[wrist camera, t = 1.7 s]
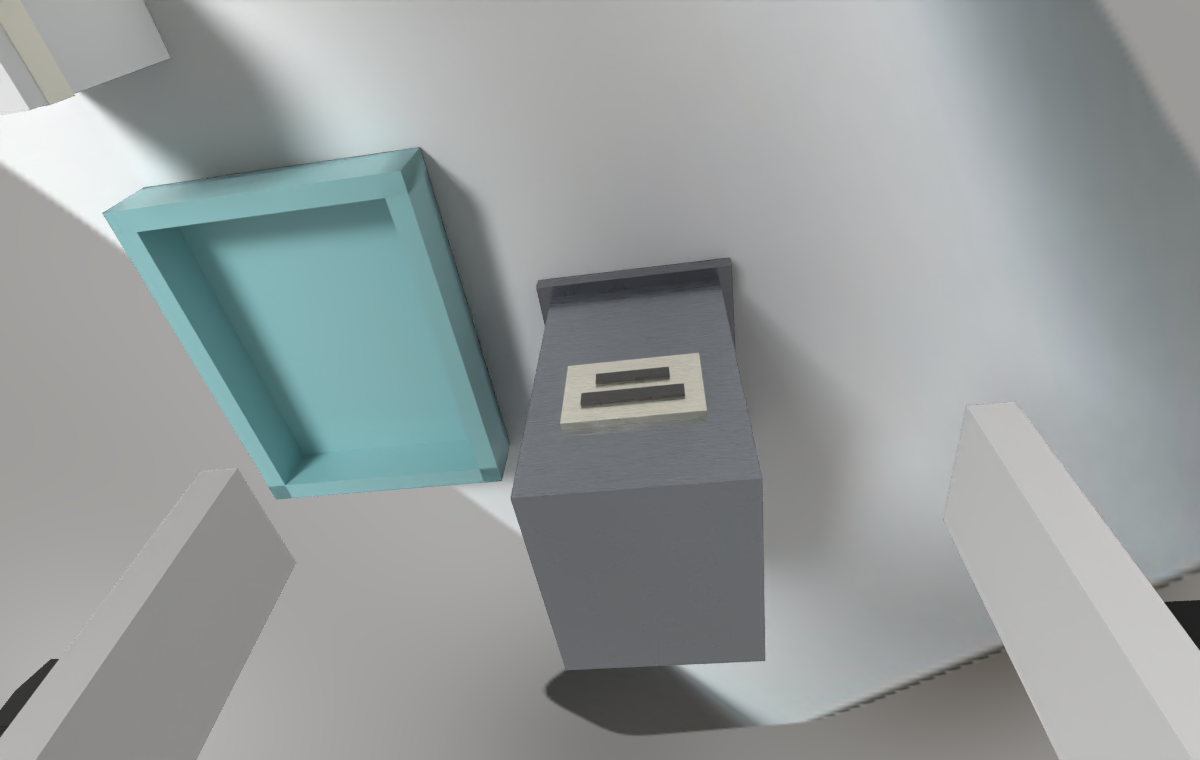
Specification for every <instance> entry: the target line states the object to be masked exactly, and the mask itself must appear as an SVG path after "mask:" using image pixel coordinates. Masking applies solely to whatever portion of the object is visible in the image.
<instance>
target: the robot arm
mask: <svg viewBox="0 0 1200 760" xmlns="http://www.w3.org/2000/svg"><path fill="white" fill-rule="evenodd" d="M943 521H944V523H945V525H946V527H947V529H948V531H949V533H950V535H951V537H952V540H953V542H954V544H955V546H956V548H957V550H958V552H959V554H960V556H961V558H962V560H963V562H964V564H965V566H966V568H967V570H968V573H969V575H970V577H971V579H972V581H973V583H974V585H975V587H976V589H977V591H978V593H979V595H980V597H981V599H982V601H983V603H984V605H985V608H986V610H987V612H988V614H989V616H990V618H991V620H992V622H993V624H994V626H995V628H996V630H997V632H998V634H999V636H1000V638H1001V640H1002V643H1003V645H1004V647H1005V649H1006V651H1007V653H1008V655H1009V657H1010V659H1011V661H1012V663H1013V665H1014V667H1015V669H1016V671H1017V673H1018V676H1019V678H1020V680H1021V682H1022V684H1023V686H1024V688H1025V690H1026V692H1027V694H1028V696H1029V698H1030V700H1031V702H1032V704H1033V706H1034V708H1035V711H1036V712H1037V715H1038V717H1039V719H1040V721H1041V723H1042V725H1043V727H1044V729H1045V731H1046V733H1047V735H1048V737H1049V739H1050V741H1051V744H1052V745H1053V748H1054V750H1055V752H1056V754H1057V756H1058V758H1059V760H1200V600H1196V601H1195V600H1194V601H1174V602H1163V600H1162V599H1161V598H1160V596H1159V595H1158V594H1157V592H1156V591H1155V590H1154V588H1153V587H1152V585H1151V584H1150V583H1149V581H1148V580H1147V579H1146V577H1145V576H1144V575H1143V573H1142V572H1141V571H1140V569H1139V568H1138V567H1137V565H1136V564H1135V562H1134V561H1133V560H1132V558H1131V557H1130V556H1129V554H1128V553H1127V552H1126V550H1125V549H1124V548H1123V546H1122V545H1121V544H1120V542H1119V541H1118V539H1117V538H1116V537H1115V535H1114V534H1113V533H1112V531H1111V530H1110V529H1109V527H1108V526H1107V525H1106V523H1105V522H1104V521H1103V519H1102V518H1101V516H1100V515H1099V514H1098V512H1097V511H1096V510H1095V508H1094V507H1093V506H1092V504H1091V503H1090V502H1089V500H1088V499H1087V498H1086V496H1085V495H1084V493H1083V492H1082V491H1081V489H1080V488H1079V487H1078V485H1077V484H1076V483H1075V481H1074V480H1073V479H1072V477H1071V476H1070V475H1069V473H1068V472H1067V470H1066V469H1065V468H1064V466H1063V465H1062V464H1061V462H1060V461H1059V460H1058V458H1057V457H1056V456H1055V454H1054V453H1053V452H1052V450H1051V449H1050V448H1049V446H1048V445H1047V443H1046V442H1045V441H1044V439H1043V438H1042V437H1041V435H1040V434H1039V433H1038V431H1037V430H1036V429H1035V427H1034V426H1033V425H1032V423H1031V422H1030V420H1029V419H1028V418H1027V416H1026V415H1025V414H1024V412H1023V411H1022V410H1021V408H1020V407H1019V406H1018V404H1017V403H1016V402H1003V403H992V404H980V405H968V406H966V410H965V415H964V420H963V425H962V429H961V434H960V439H959V444H958V449H957V454H956V459H955V463H954V468H953V473H952V478H951V483H950V488H949V492H948V497H947V502H946V507H945V512H944V517H943ZM295 564H296V561H295V559H294V558H293V556H292V555H291V553H290V551H289V550H288V548H287V547H286V545H285V543H284V542H283V540H282V539H281V537H280V535H279V534H278V532H277V531H276V529H275V527H274V526H273V524H272V523H271V521H270V520H269V518H268V516H267V515H266V513H265V511H264V510H263V508H262V507H261V505H260V504H259V502H258V500H257V498H256V497H255V495H254V494H253V492H252V491H251V489H250V487H249V486H248V484H247V482H246V481H245V479H244V478H243V476H242V474H241V473H240V471H239V470H238V468H230V469H219V470H207V471H200V472H199V474H198V475H197V476H196V478H195V479H194V480H193V482H192V483H191V485H190V486H189V487H188V488H187V490H186V491H185V492H184V494H183V495H182V496H181V498H180V499H179V500H178V502H177V503H176V504H175V506H174V507H173V508H172V510H171V511H170V512H169V514H168V515H167V516H166V518H165V519H164V520H163V522H162V523H161V524H160V526H159V527H158V528H157V530H156V531H155V532H154V534H153V535H152V536H151V538H150V539H149V540H148V542H147V543H146V544H145V546H144V547H143V548H142V550H141V551H140V552H139V554H138V555H137V556H136V558H135V559H134V560H133V562H132V563H131V564H130V566H129V567H128V568H127V570H126V571H125V572H124V574H123V575H122V576H121V578H120V579H119V580H118V582H117V583H116V584H115V586H114V587H113V588H112V590H111V591H110V592H109V593H108V595H107V596H106V597H105V599H104V600H103V602H102V603H101V604H100V606H99V607H98V608H97V609H96V611H95V612H94V614H93V615H92V616H91V617H90V619H89V620H88V621H87V623H86V624H85V625H84V627H83V628H82V629H81V631H80V632H79V633H78V635H77V636H76V638H75V639H74V640H73V641H72V643H71V644H70V646H69V647H68V648H67V649H66V651H65V652H64V654H63V655H62V656H61V657H60V659H51V660H49V661H48V662H47V663H46V664H45V665H44V666H43V667H42V668H40V669H39V670H38V671H37V672H36V673H35V674H34V675H33V676H32V677H30V678H29V679H28V680H27V681H26V682H25V683H24V684H22V685H21V686H20V687H19V688H18V689H17V690H16V691H15V692H14V693H13V694H12V696H11V697H10V698H9V700H8V701H7V702H6V703H5V705H4V706H3V707H2V709H1V710H0V760H196V759H197V758H198V756H199V754H200V751H201V750H202V748H203V746H204V744H205V742H206V740H207V738H208V736H209V734H210V732H211V730H212V728H213V726H214V724H215V722H216V720H217V718H218V716H219V714H220V712H221V710H222V708H223V706H224V704H225V702H226V700H227V698H228V696H229V694H230V692H231V690H232V688H233V686H234V684H235V682H236V680H237V679H238V677H239V674H240V672H241V671H242V669H243V667H244V665H245V663H246V661H247V659H248V657H249V655H250V653H251V651H252V649H253V647H254V645H255V643H256V641H257V639H258V637H259V635H260V633H261V631H262V629H263V627H264V625H265V623H266V621H267V619H268V617H269V615H270V613H271V611H272V609H273V608H274V605H275V603H276V601H277V600H278V597H279V596H280V594H281V592H282V590H283V588H284V586H285V584H286V582H287V580H288V578H289V576H290V574H291V572H292V570H293V568H294V566H295Z"/></svg>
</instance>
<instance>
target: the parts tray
mask: <svg viewBox="0 0 1200 760" xmlns="http://www.w3.org/2000/svg"><path fill="white" fill-rule="evenodd" d="M102 214H103V215H104V217H105V218H106V220H107V222H108V223H109V225H110V227H111V228H112V230H113V232H114V233H115V235H116V237H117V238H118V240H119V242H120V243H121V245H122V246H123V248H124V250H125V251H126V253H127V255H128V256H129V258H130V260H131V261H132V263H133V265H134V266H135V268H136V269H137V271H138V273H139V274H140V276H141V278H142V279H143V281H144V283H145V284H146V286H147V288H148V289H149V291H150V292H151V294H152V296H153V297H154V299H155V301H156V302H157V304H158V306H159V307H160V309H161V311H162V312H163V314H164V316H165V317H166V319H167V320H168V322H169V324H170V325H171V327H172V329H173V330H174V332H175V333H176V335H177V337H178V339H179V340H180V342H181V344H182V345H183V347H184V348H185V350H186V351H187V353H188V355H189V357H190V358H191V360H192V362H193V363H194V365H195V367H196V368H197V370H198V372H199V373H200V375H201V376H202V378H203V379H204V381H205V383H206V384H207V386H208V388H209V390H210V391H211V393H212V394H213V396H214V398H215V399H216V401H217V402H218V404H219V406H220V408H221V409H222V411H223V413H224V414H225V416H226V418H227V419H228V421H229V422H230V424H231V426H232V427H233V429H234V431H235V432H236V434H237V436H238V437H239V439H240V441H241V442H242V444H243V446H244V447H245V449H246V450H247V452H248V454H249V455H250V457H251V459H252V460H253V462H254V464H255V465H256V467H257V468H258V470H259V472H260V474H261V475H262V477H263V478H264V480H265V482H266V483H267V485H268V487H269V488H270V490H271V492H272V493H273V495H274V497H275V498H276V499H287V498H299V497H311V496H323V495H335V494H348V493H360V492H372V491H383V490H397V489H409V488H421V487H433V486H445V485H458V484H470V483H482V482H494V481H502V478H503V473H504V469H505V464H506V460H507V455H508V451H509V446H510V443H509V439H508V436H507V433H506V429H505V426H504V423H503V420H502V416H501V413H500V410H499V406H498V403H497V400H496V396H495V393H494V390H493V387H492V383H491V380H490V377H489V373H488V370H487V367H486V364H485V360H484V357H483V354H482V350H481V347H480V344H479V340H478V337H477V334H476V331H475V327H474V324H473V321H472V317H471V314H470V311H469V308H468V304H467V301H466V298H465V294H464V291H463V288H462V284H461V281H460V278H459V275H458V271H457V268H456V265H455V261H454V258H453V255H452V252H451V248H450V245H449V242H448V238H447V235H446V232H445V228H444V225H443V222H442V219H441V215H440V212H439V209H438V205H437V202H436V199H435V196H434V192H433V189H432V186H431V182H430V179H429V176H428V172H427V169H426V166H425V163H424V159H423V156H422V153H421V149H420V147H418V148H411V149H404V150H397V151H391V152H384V153H377V154H370V155H363V156H356V157H350V158H343V159H336V160H329V161H322V162H315V163H308V164H302V165H295V166H288V167H281V168H274V169H267V170H261V171H254V172H247V173H240V174H233V175H226V176H219V177H213V178H206V179H199V180H192V181H185V182H178V183H172V184H165V185H158V186H151V187H144V188H142V189H141V190H139V191H137V192H136V193H134V194H133V195H131V196H129V197H128V198H126V199H124V200H123V201H121V202H119V203H118V204H116V205H115V206H113V207H111V208H110V209H108V210H106V211H105V212H103V213H102Z"/></svg>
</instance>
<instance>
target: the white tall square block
mask: <svg viewBox="0 0 1200 760" xmlns="http://www.w3.org/2000/svg"><path fill="white" fill-rule="evenodd" d="M169 58H171V57H170V55H169V53H168V51H167V49H166V47H165V45H164V42H163V40H162V38H161V36H160V34H159V32H158V30H157V28H156V26H155V24H154V22H153V19H152V17H151V15H150V13H149V11H148V9H147V7H146V5H145V3H144V1H143V0H0V115H4V114H10V113H16V112H22V111H28V110H32V109H35V108H37V107H41V106H47V105H51V104H54V103H57V102H59V101H62V100H65V99H67V98H70V97H73V96H75V95H74V94H75V93H78V92H80V91H83V90H86V89H88V88H91V87H94V86H97V85H99V84H102V83H105V82H107V81H110V80H113V79H115V78H118V77H121V76H123V75H126V74H129V73H132V72H134V71H137V70H140V69H142V68H145V67H148V66H150V65H153V64H156V63H158V62H161V61H164V60H167V59H169Z"/></svg>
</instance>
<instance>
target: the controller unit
mask: <svg viewBox="0 0 1200 760" xmlns="http://www.w3.org/2000/svg"><path fill="white" fill-rule="evenodd" d="M536 289H537V293H538V298H539V302H540V306H541V310H542V315H543V319H544V323H545V331H544V335H543V340H542V345H541V350H540V355H539V360H538V365H537V370H536V375H535V380H534V385H533V390H532V395H531V400H530V404H529V409H528V414H527V419H526V424H525V429H524V434H523V439H522V444H521V449H520V454H519V459H518V464H517V469H516V473H515V478H514V483H513V488H512V493H511V501H512V504H513V508H514V511H515V514H516V517H517V520H518V523H519V526H520V529H521V532H522V535H523V538H524V542H525V545H526V547H527V551H528V554H529V557H530V560H531V563H532V566H533V569H534V573H535V576H536V579H537V582H538V585H539V588H540V591H541V594H542V597H543V600H544V603H545V607H546V610H547V613H548V616H549V619H550V622H551V625H552V628H553V631H554V634H555V638H556V640H557V644H558V647H559V650H560V653H561V656H562V659H563V662H564V665H565V669H566V670H579V669H601V668H622V667H644V666H665V665H687V664H708V663H730V662H751V661H765V616H764V558H763V501H762V476H761V471H760V466H759V462H758V457H757V452H756V448H755V443H754V438H753V434H752V429H751V424H750V420H749V415H748V411H747V406H746V401H745V397H744V392H743V387H742V383H741V378H740V373H739V369H738V364H737V359H736V355H735V333H734V309H733V286H732V265H731V261H730V258H724V259H715V260H707V261H699V262H690V263H682V264H673V265H665V266H656V267H648V268H639V269H631V270H623V271H614V272H606V273H597V274H589V275H580V276H572V277H563V278H555V279H546V280H538V284H537V288H536Z"/></svg>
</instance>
